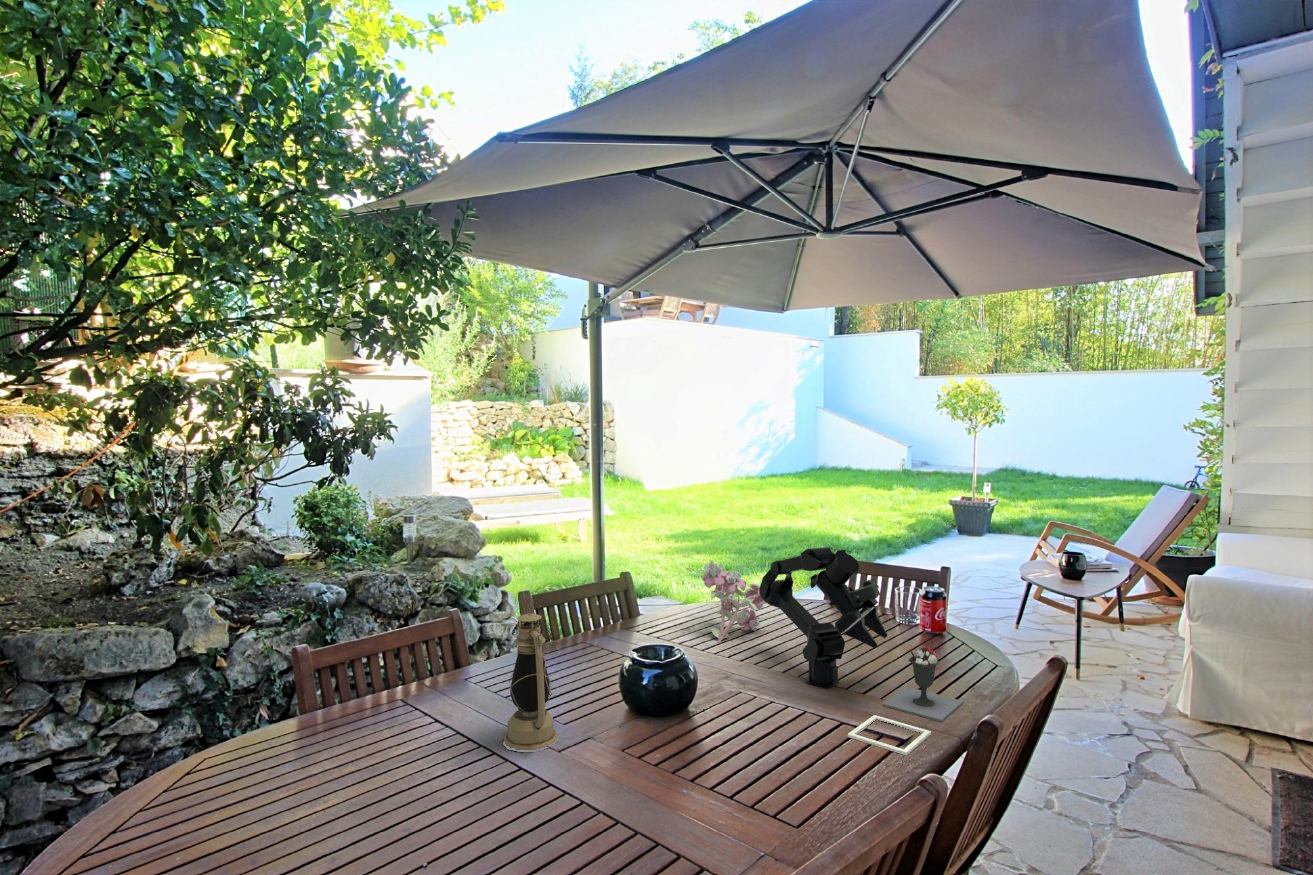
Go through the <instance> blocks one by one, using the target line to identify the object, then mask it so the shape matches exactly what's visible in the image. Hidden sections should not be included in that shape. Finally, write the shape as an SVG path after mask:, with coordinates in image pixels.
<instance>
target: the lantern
mask: <svg viewBox="0 0 1313 875" xmlns="http://www.w3.org/2000/svg"><path fill="white" fill-rule="evenodd" d="M528 604H529V606H530V608H529V610H528ZM526 607H527V613H524V614H521V615H519V616H517V617H516V620H517V622H516V623H517V624H516V638H515V639H514V641H513V644H514V645H516V646H517V648H516V649H517V653H516V659H515V663H514V664H515V665H514V668H513V672H512V674H511V675H510V678H509V681H510V684H509V694H510V697H511V701H512V703H513V705H514V706H515V707H516V708H517V710H516V711H515V712H514V713H513V714H512V716H511V717H510V718H509V719H508V721H507V733H506V734H505V735H504V736H503V738H504V742H505V744H506V746H509V747H510V748H515V749H516V750H536V749H540V748H545V747H546V746H549V745H551V744H552V743H554V742H556V740H557V738H558V734H557V733H558V731H556V729H555V728H554V726H555V725H554V717H553V716H552V715H551V714H550V713H549V711H548V710H546V707H547V705H548V703H549V701H550V698H551V696H553V693H552V680H551V677H550V676H549V674H548V670H547V666H546V664H547V663H546V661H547V660H546V659H547V657H546V654H545V653H543V644H544V643H546V637H543V633H541V625H540V622H539V621H540V620H541V619H542V615H541V614H537V613H536V614H535V613H532V612H531V611H532V605H531V602H530V600H529V601H527V602H526ZM523 622H524V623H523Z"/></svg>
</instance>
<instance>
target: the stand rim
mask: <svg viewBox="0 0 1313 875" xmlns="http://www.w3.org/2000/svg"><path fill="white" fill-rule="evenodd" d="M876 719H878V720H880V721H879V722H881V721H884V722H887V723H886V724H888V723H891V724H894V725H893V726H895V725H897V726H896V727H898V726H900V727H899V728H902V727H904V728H903V729H905V728H906V729H905V730H908V729H909V731H912V732H915V731H916V733H919V732H920V735H919V736H918V737H916V738H915V739H914V740H913V741H912V742H911V743H910V744H908V745H907V746H906V747H905V748H901V747H897V746H894V745H890V744H888V743H885V742H881V741H878V740H875V739H871V738H868V737H865V736H862V735H859V733H861V732H862V731H864V730H865V729H866V728H868V727H869V726H871V725H872V724H873V723H874V722H873V721H875V720H876ZM878 720H876V721H878ZM876 721H875V722H876ZM872 722H873V723H872ZM884 722H883V723H884ZM871 723H872V724H871ZM870 724H871V725H870ZM891 724H890V725H891ZM868 725H869V726H868ZM867 726H868V727H867ZM930 735H932V731H931V730H928V729H924V728H921V727H917V726H914V725H910V724H907V723H903V722H900V721H897V720H893V719H890V718H886V717H883V716H879V715H875V714H874V715H872V716H871V717H869V718H868V719H866V720H865V721H864V722H862V723H861V724H859V725H858V726H857V727H856V728H854V729H852V730H851V731H850V732H848V733H847V738H850V739H853V740H857V741H859V742H862V743H865V744H869V745H872V746H876V747H879V748H880V749H881V748H882V749H884V750H888V751H891V752H895V753H897V754H901V755H903V756H908V755H909V754H910V753H912V751H913V750H915V749H916V748H917V747H918V746H920V745H921V744H922V743H923V742H924V741H925V740H926V739H927V738H928V737H930Z"/></svg>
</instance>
